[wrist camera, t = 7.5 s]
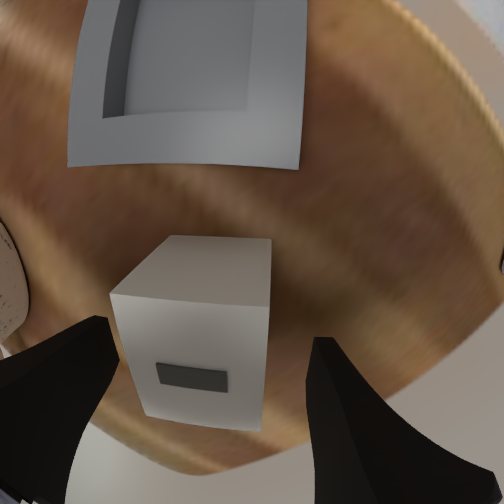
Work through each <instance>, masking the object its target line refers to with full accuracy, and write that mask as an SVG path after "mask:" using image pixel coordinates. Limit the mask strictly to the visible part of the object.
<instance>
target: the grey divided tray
mask: <svg viewBox="0 0 504 504" xmlns="http://www.w3.org/2000/svg"><path fill="white" fill-rule="evenodd" d="M306 39H307V0H89V1H88V4H87V8H86V12H85V15H84V19H83V23H82V28H81V32H80V37H79V41H78V46H77V52H76V57H75V63H74V70H73V77H72V85H71V94H70V105H69V120H68V167H79V166H93V165H111V164H139V163H194V164H224V165H243V166H258V167H272V168H283V169H294V170H298V169H299V157H300V144H301V131H302V117H303V102H304V84H305V64H306Z"/></svg>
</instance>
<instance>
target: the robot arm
mask: <svg viewBox="0 0 504 504" xmlns="http://www.w3.org/2000/svg"><path fill="white" fill-rule="evenodd" d="M502 273H503V274H504V261H503V264H502ZM119 361H120V359H119V356H118V353H117V350H116V346H115V343H114V340H113V336H112V333H111V329H110V325H109V322H108V318H107V317H101V316H96V315H94V316H92V317H89V318H87V319H85V320H83V321H81V322H79V323H77V324H75V325H73V326H71V327H69V328H67V329H65V330H64V331H62V332H60V333H58V334H56V335H54V336H52V337H51V338H49V339H47V340H45V341H43V342H41V343H39V344H37V345H35V346H33V347H31V348H29V349H27V350H24V351H22V352H20V353H18V354H15V355H13V356H10V357H7V358H5V359H2V360H0V504H20V503H21V501H22V499H23V500H25V501H26V502H27V503H29V504H32V503H33V501H35V502H36V503H38V504H64V503H65V496H66V495H65V494H66V488H67V483H68V479H69V474H70V470H71V466H72V463H73V459H74V456H75V453H76V450H77V447H78V444H79V442H80V439H81V437H82V434H83V432H84V430H85V427H86V425H87V423H88V422H89V420H90V418H91V416H92V415H93V413H94V411H95V409H96V407H97V406H98V404H99V402H100V400H101V399H102V397H103V395H104V393H105V392H106V390H107V388H108V386H109V385H110V383H111V381H112V378H113V376H114V374H115V371H116V369H117V366H118V363H119ZM306 408H307V415H308V422H309V429H310V436H311V443H312V450H313V458H314V467H315V504H498V503H499V502H500V501H501V499H502V494H501V491H500V488H499V485H498V483H497V480H496V477H495V475H494V473H493V472H492V471H489V470H487V469H484V468H482V467H479V466H477V465H474V464H472V463H470V462H468V461H465V460H463V459H461V458H460V457H457V456H456V455H454V454H452V453H450V452H449V451H447V450H445V449H443V448H442V447H440V446H439V445H437V444H435V443H434V442H433V441H431V440H430V439H428V438H427V437H426V436H424V435H423V434H421V433H420V432H418V431H417V430H416V429H415V428H413V427H412V426H411V425H410V424H408V423H407V422H406V421H405V420H404V419H403V418H402V417H400V416H399V415H398V414H397V413H396V412H395V411H394V410H393V409H392V408H391V407H390V406H389V405H388V404H387V403H386V402H385V401H384V400H383V399H382V398H381V397H380V396H379V395H378V394H377V393H376V392H375V391H374V389H373V388H372V387H371V386H370V385H369V384H368V382H367V381H366V380H365V379H364V378H363V376H362V375H361V374H360V373H359V371H358V370H357V369H356V368H355V366H354V365H353V364H352V362H351V361H350V360H349V358H348V357H347V356H346V354H345V353H344V352H343V350H342V349H341V348H340V346H339V345H338V343H337V342H336V341H335V339H334V338H333V337H314V341H313V346H312V351H311V357H310V362H309V367H308V372H307V377H306Z"/></svg>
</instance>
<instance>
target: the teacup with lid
mask: <svg viewBox="0 0 504 504" xmlns="http://www.w3.org/2000/svg"><path fill="white" fill-rule="evenodd" d="M28 305H29V298H28V289H27V283H26V279H25V275H24V271H23V268H22V264H21V261H20V259H19V256H18V253H17V251H16V249H15V246H14V244H13V242H12V240H11V238H10V236H9V234H8V233H7V231H6V229H5V228H4V226H3V225H2V223H1V222H0V344H1V343H2V342H3V341H4V340H5V339H6V338H7V337H8V336H9V335H10V334H11V333H13V332H14V331H15V330H16V329H17V328H18V327H19V326H20V325H21V324H22V323H23V322H24V321H25V319H26V316H27V313H28ZM2 359H4V357H3V354H2V351H1V349H0V360H2Z"/></svg>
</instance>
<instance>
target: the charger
mask: <svg viewBox="0 0 504 504" xmlns="http://www.w3.org/2000/svg"><path fill="white" fill-rule="evenodd" d="M271 248H272V239H262V238H239V237H214V236H187V235H170V236H169V237H168V238H167V239H166V240H165V241H164V242H163V243H161V244H160V245H159V246H158V247H157V248H156V249H155V250H154V251H153V252H152V253H151V254H149V255H148V256H147V257H146V258H145V259H144V260H143V261H142V262H141V263H140V264H139V265H138V266H137V267H136V268H135V269H134V270H133V271H131V272H130V273H129V274H128V275H127V276H126V277H125V278H124V279H123V280H122V281H121V282H120V283H119V284H118V285H117V286H116V287H115V288H114V289H113V290H112V291H111V292H110V293H109V294H110V299H111V303H112V308H113V312H114V316H115V320H116V324H117V328H118V332H119V335H120V339H121V343H122V346H123V350H124V353H125V356H126V360H127V363H128V366H129V369H130V372H131V375H132V378H133V381H134V384H135V387H136V390H137V393H138V395H139V398H140V401H141V403H142V406H143V409H144V411H145V414H146V415H147V416H151V417H156V418H160V419H165V420H170V421H176V422H181V423H187V424H193V425H200V426H207V427H215V428H223V429H233V430H245V431H260V432H261V421H262V409H263V396H264V383H265V370H266V355H267V341H268V326H269V309H270V282H271Z"/></svg>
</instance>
